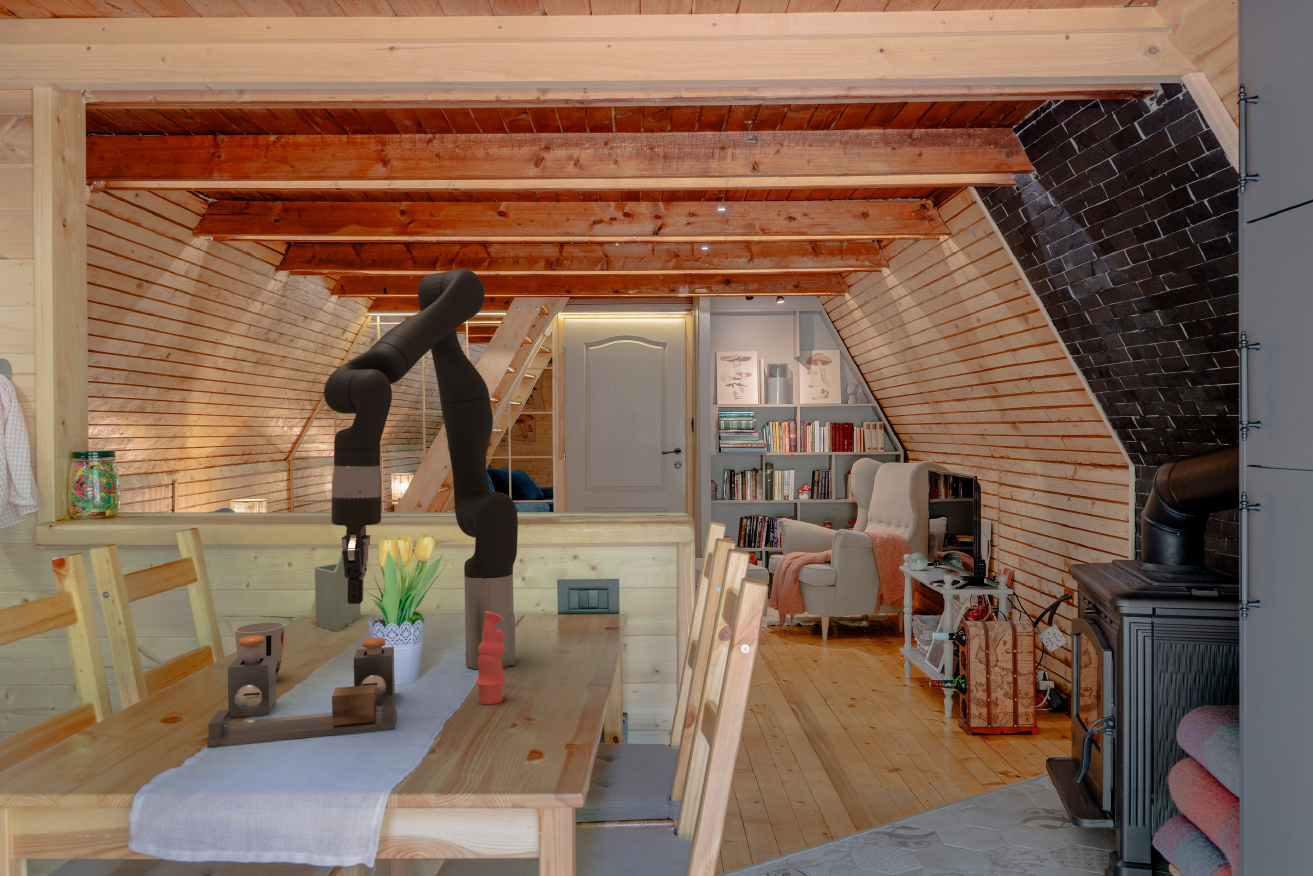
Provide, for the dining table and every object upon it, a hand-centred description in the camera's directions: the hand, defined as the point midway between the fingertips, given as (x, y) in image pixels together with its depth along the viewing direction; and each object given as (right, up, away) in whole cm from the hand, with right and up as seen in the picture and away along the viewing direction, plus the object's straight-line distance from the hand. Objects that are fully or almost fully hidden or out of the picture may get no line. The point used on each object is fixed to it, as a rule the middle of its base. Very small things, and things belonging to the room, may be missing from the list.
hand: (355, 602), depth 139 cm
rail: (-5, -18, -7) cm, 20 cm away
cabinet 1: (-18, -18, +3) cm, 26 cm away
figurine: (+21, -18, +6) cm, 28 cm away
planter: (-28, -18, +65) cm, 73 cm away
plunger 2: (+1, -12, +8) cm, 14 cm away
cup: (-24, -18, +19) cm, 35 cm away
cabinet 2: (+1, -18, +8) cm, 19 cm away
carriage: (+2, -17, -5) cm, 18 cm away
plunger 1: (-18, -10, +3) cm, 21 cm away
